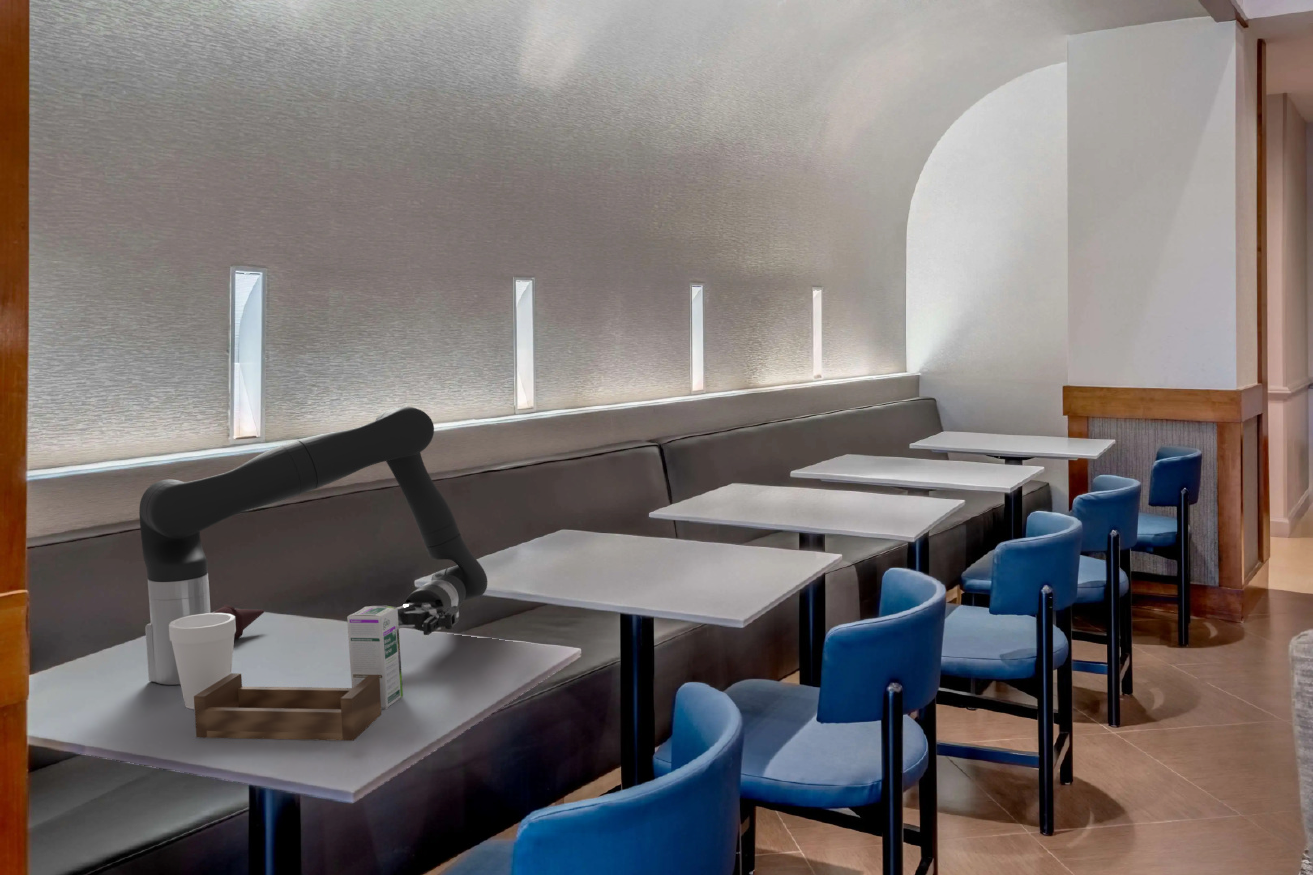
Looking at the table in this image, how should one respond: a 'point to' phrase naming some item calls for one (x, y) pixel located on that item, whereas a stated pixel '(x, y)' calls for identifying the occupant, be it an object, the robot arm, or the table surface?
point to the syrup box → (376, 650)
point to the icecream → (241, 617)
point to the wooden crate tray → (286, 710)
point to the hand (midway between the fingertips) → (400, 628)
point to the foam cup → (202, 651)
